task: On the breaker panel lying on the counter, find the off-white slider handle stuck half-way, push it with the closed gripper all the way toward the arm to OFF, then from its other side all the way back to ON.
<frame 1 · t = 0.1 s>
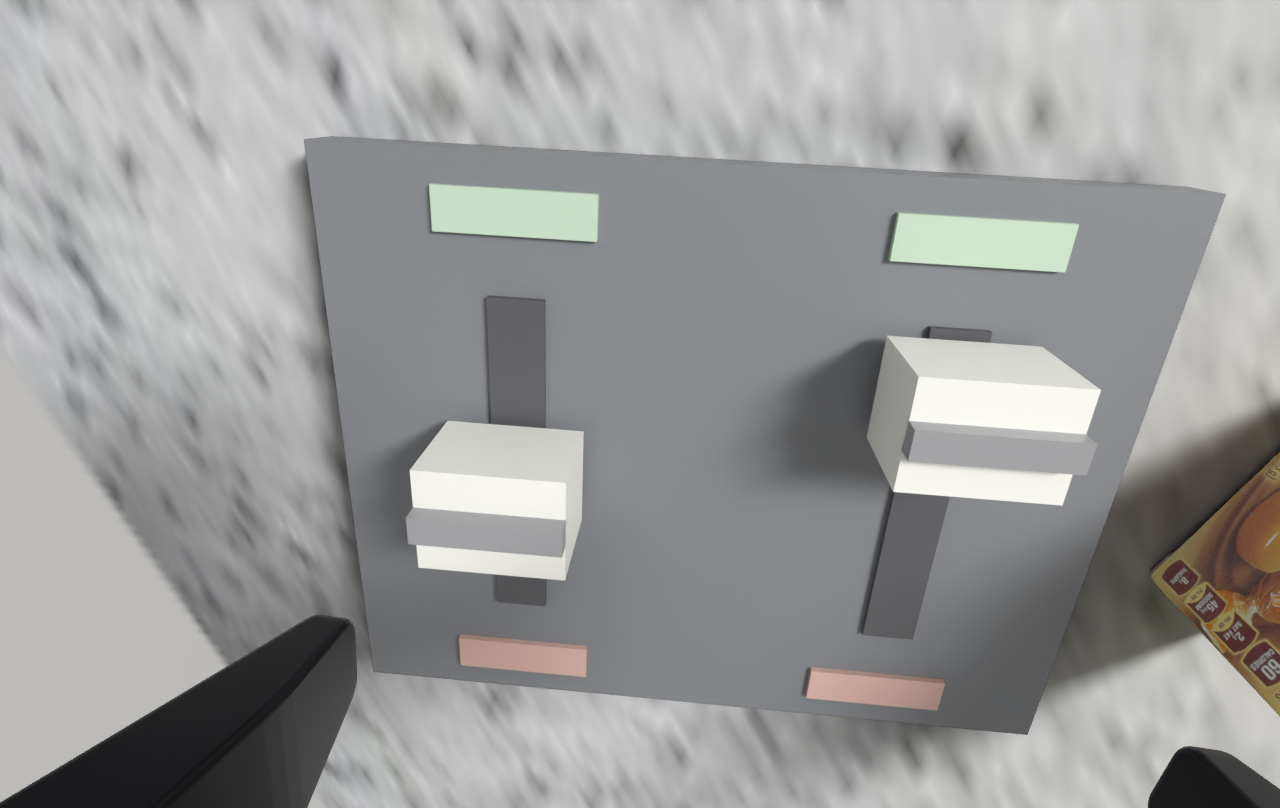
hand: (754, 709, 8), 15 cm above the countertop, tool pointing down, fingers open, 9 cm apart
on handle: (973, 420, 18), point 4 cm above the countertop, slide at 7.0 cm
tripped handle: (501, 501, 20), point 4 cm above the countertop, slide at 3.5 cm
panel: (715, 456, 23), on the countertop
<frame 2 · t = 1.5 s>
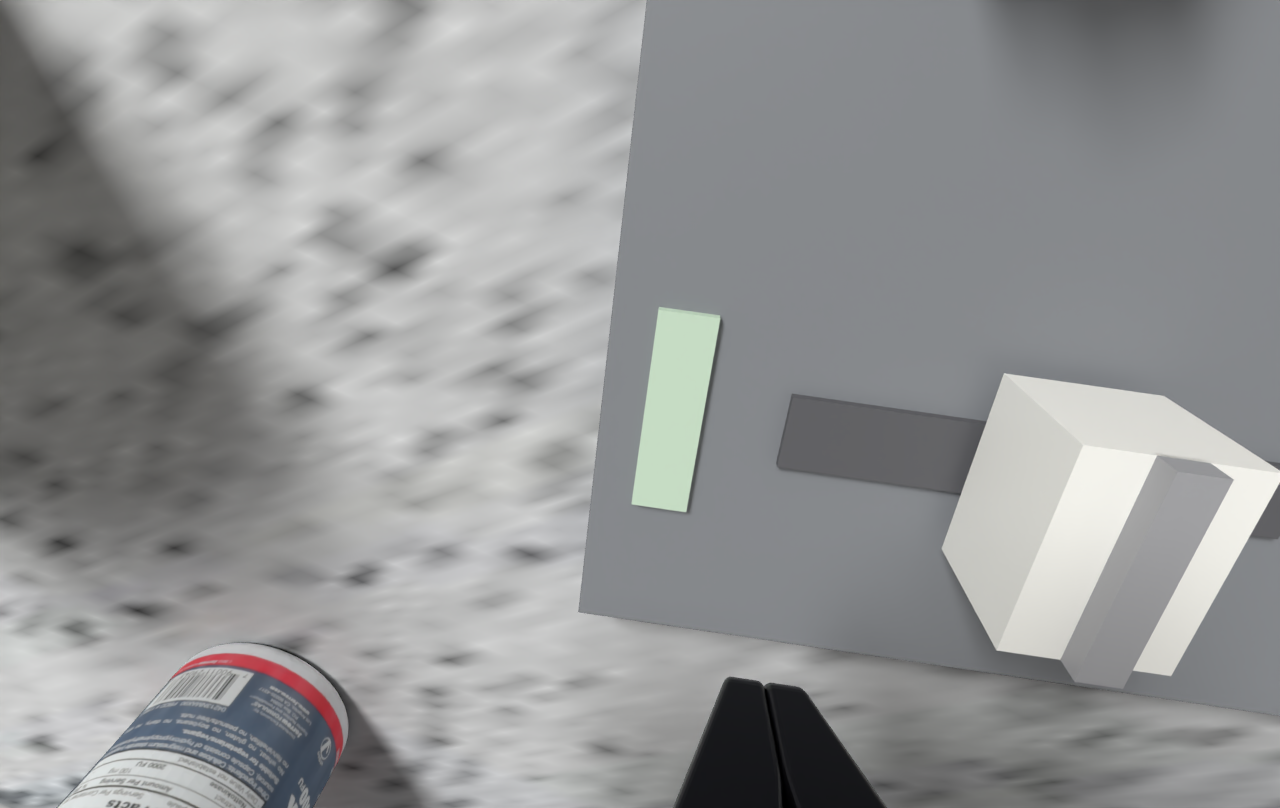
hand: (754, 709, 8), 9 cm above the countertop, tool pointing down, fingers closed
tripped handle: (1090, 525, 13), point 4 cm above the countertop, slide at 3.5 cm
pill bottle: (270, 701, 21), on the countertop
panel: (1109, 152, 14), on the countertop
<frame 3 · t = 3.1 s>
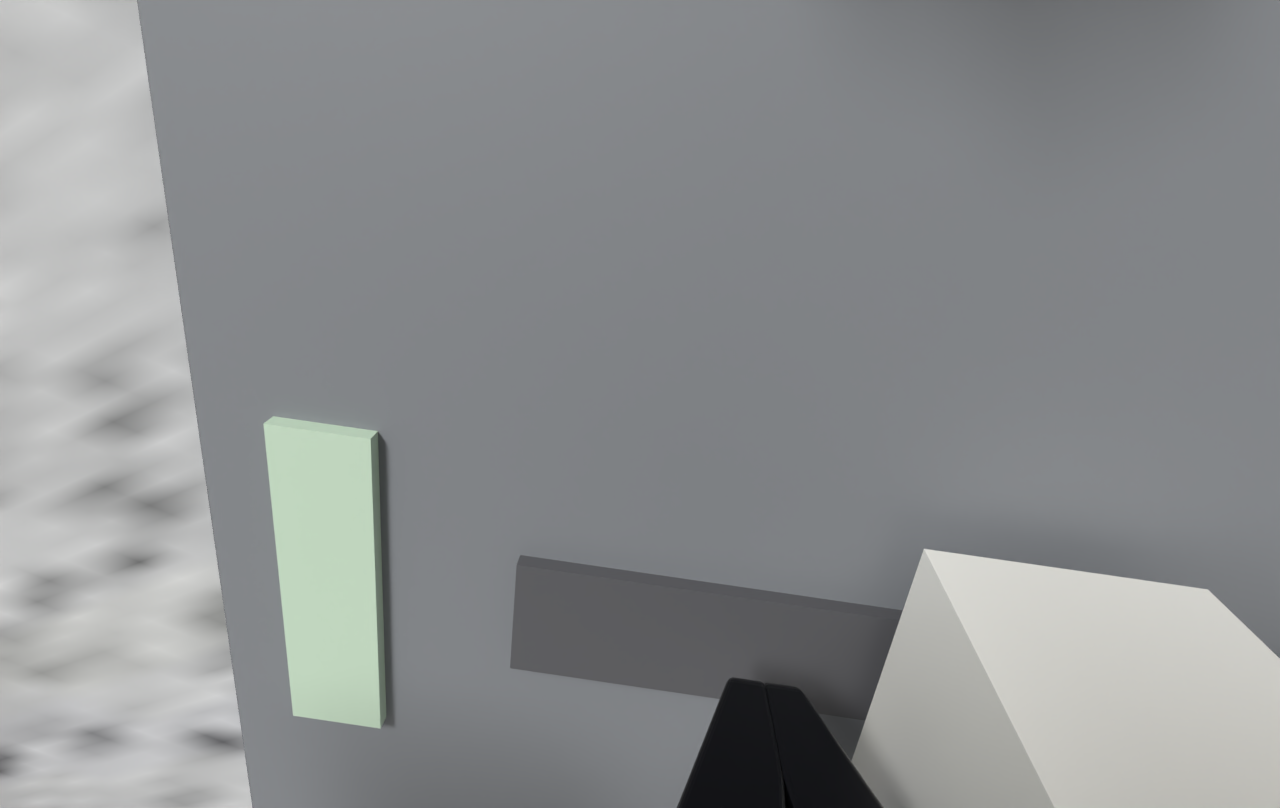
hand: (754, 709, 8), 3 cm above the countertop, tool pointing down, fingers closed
panel: (1048, 149, 8), on the countertop
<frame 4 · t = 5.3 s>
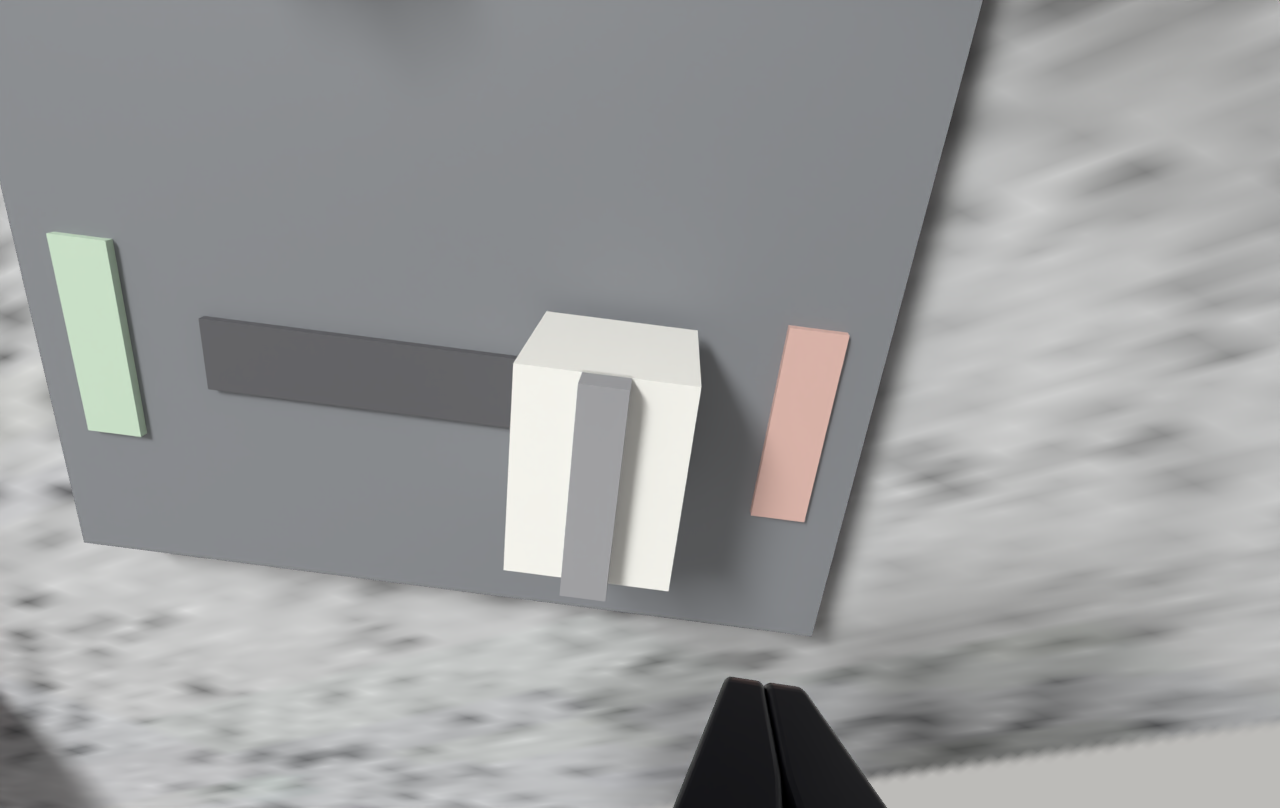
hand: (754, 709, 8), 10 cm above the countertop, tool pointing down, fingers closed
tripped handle: (603, 451, 13), point 4 cm above the countertop, slide at -0.1 cm
panel: (473, 78, 14), on the countertop
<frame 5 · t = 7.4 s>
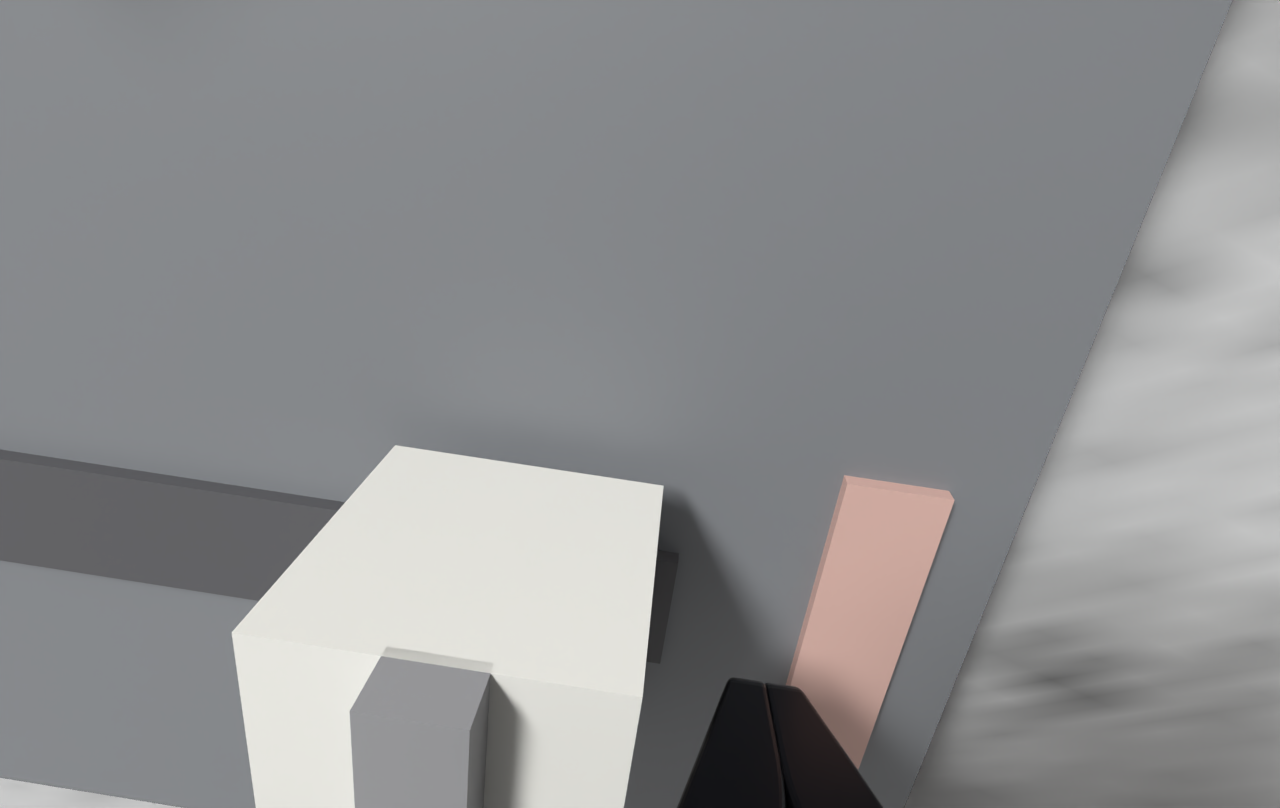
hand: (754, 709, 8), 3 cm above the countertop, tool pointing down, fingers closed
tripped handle: (477, 725, 7), point 4 cm above the countertop, slide at 0.1 cm, touching gripper
panel: (298, 32, 8), on the countertop
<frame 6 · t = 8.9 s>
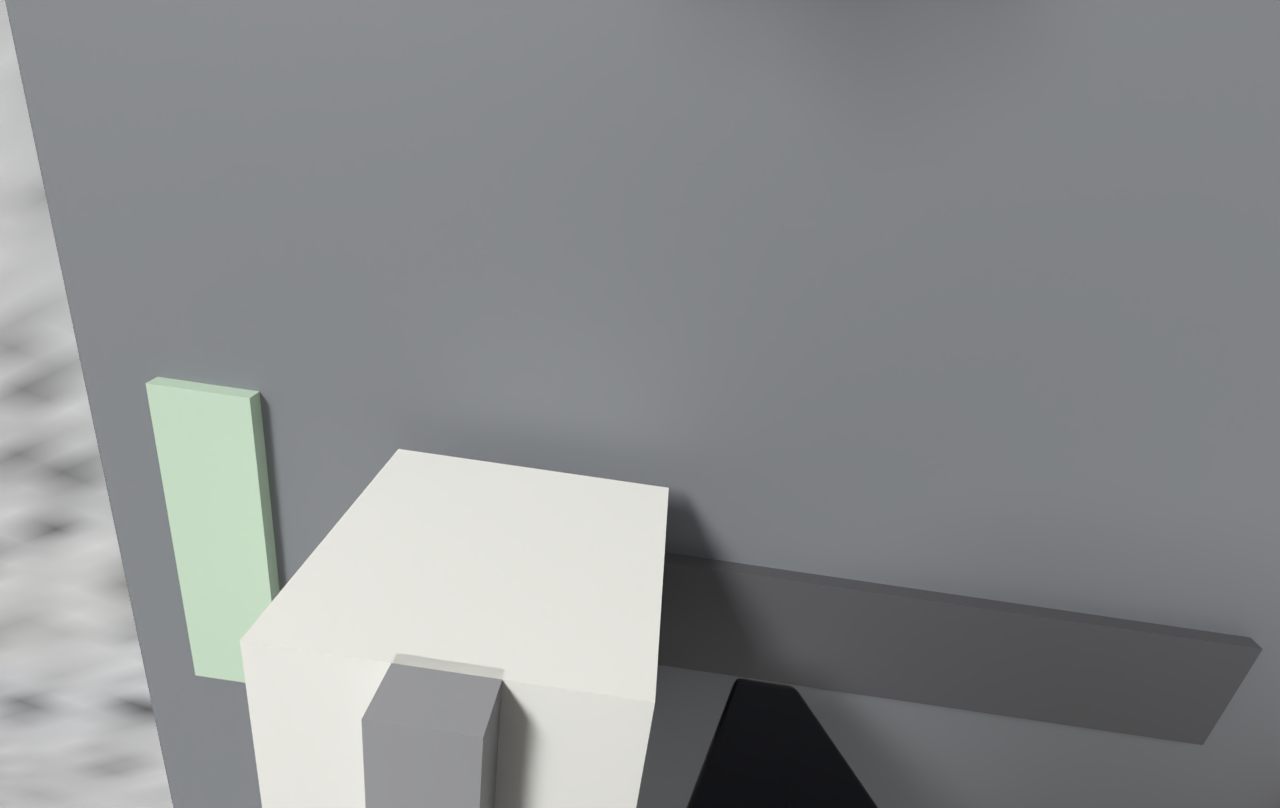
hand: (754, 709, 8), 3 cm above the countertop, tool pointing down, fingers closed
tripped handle: (483, 730, 7), point 4 cm above the countertop, slide at 7.1 cm, touching gripper
panel: (908, 117, 8), on the countertop
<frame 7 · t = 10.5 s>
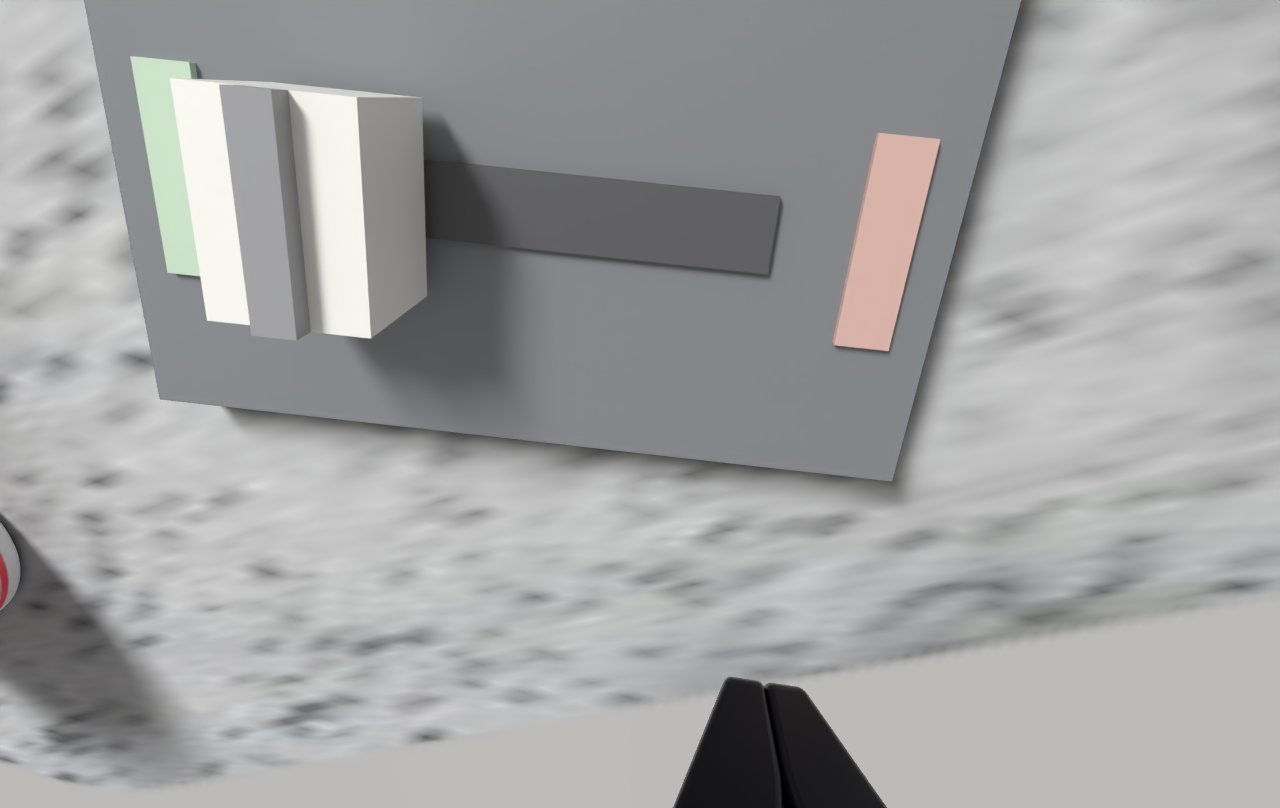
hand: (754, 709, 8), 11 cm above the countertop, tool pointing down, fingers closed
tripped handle: (312, 206, 13), point 4 cm above the countertop, slide at 7.1 cm
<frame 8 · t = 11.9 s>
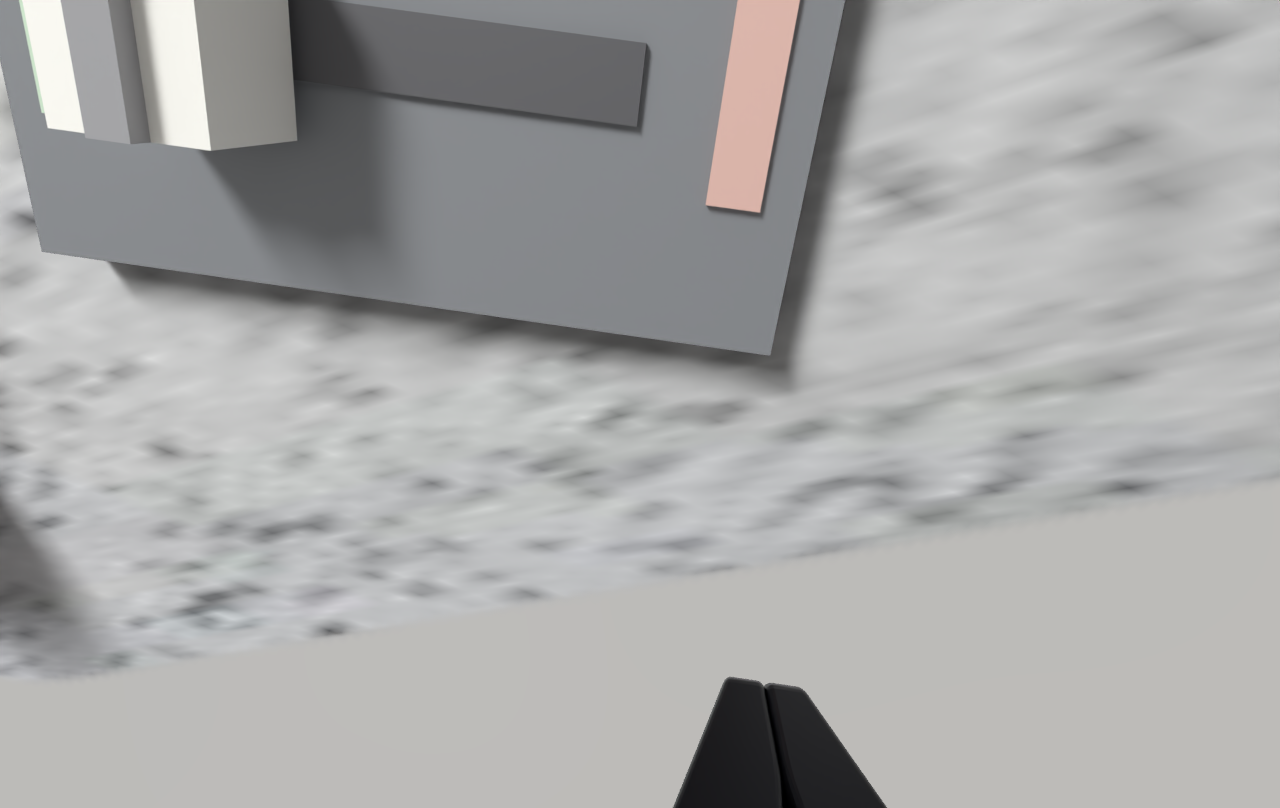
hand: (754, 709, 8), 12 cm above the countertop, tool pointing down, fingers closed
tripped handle: (160, 20, 13), point 4 cm above the countertop, slide at 7.1 cm
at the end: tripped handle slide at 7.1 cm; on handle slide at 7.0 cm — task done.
